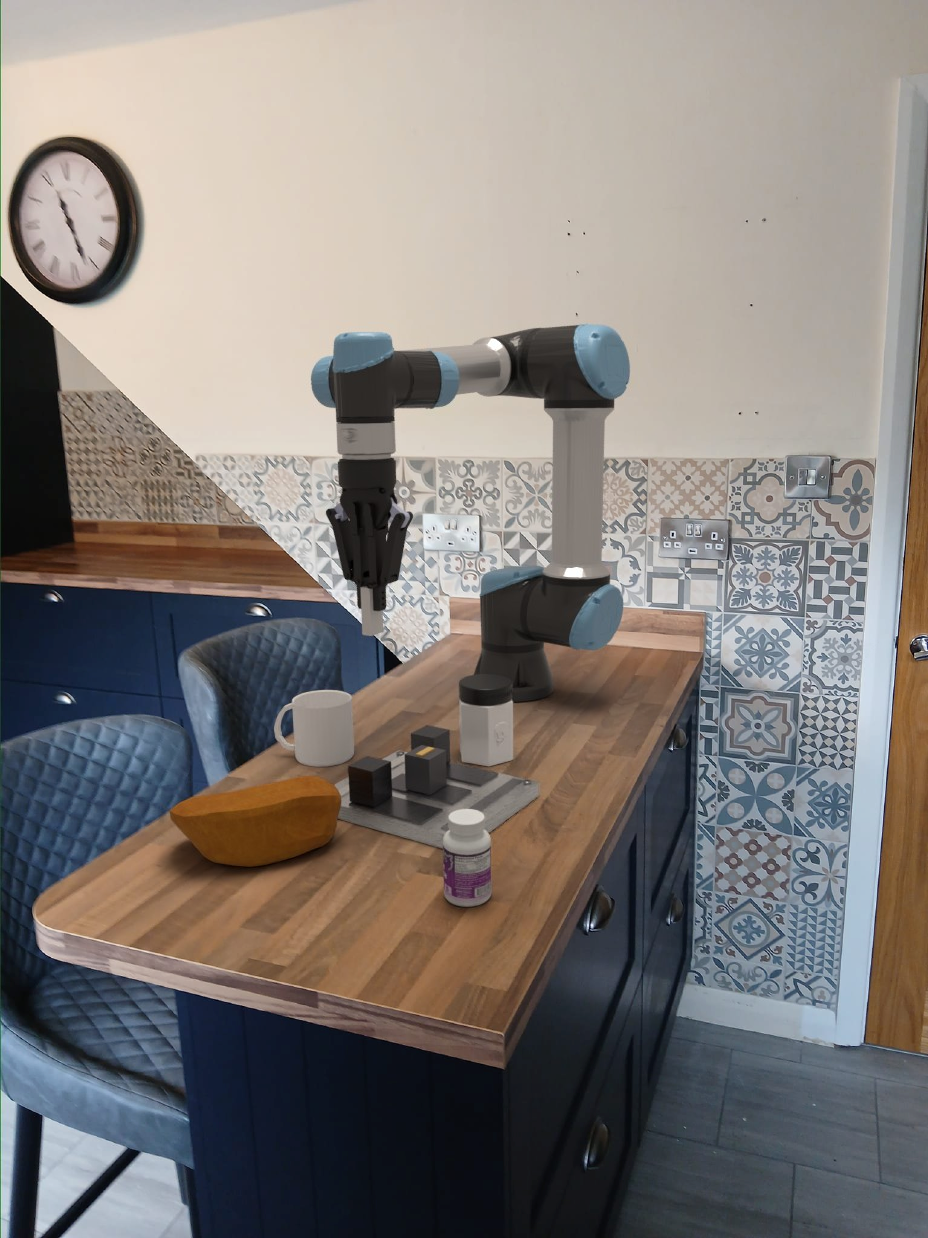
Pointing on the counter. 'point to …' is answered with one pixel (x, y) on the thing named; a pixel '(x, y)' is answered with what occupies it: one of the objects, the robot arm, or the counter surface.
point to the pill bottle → (467, 859)
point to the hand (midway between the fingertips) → (372, 633)
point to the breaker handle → (425, 769)
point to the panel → (396, 810)
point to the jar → (486, 719)
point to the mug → (320, 728)
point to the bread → (261, 821)
